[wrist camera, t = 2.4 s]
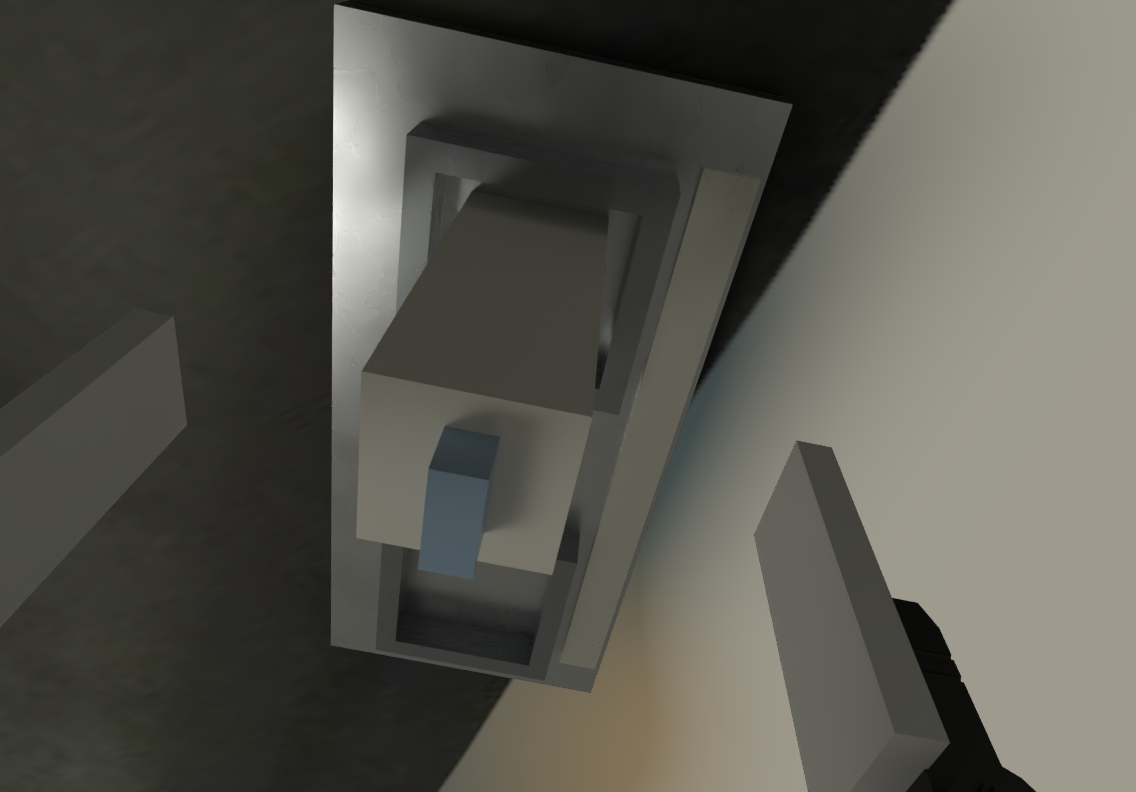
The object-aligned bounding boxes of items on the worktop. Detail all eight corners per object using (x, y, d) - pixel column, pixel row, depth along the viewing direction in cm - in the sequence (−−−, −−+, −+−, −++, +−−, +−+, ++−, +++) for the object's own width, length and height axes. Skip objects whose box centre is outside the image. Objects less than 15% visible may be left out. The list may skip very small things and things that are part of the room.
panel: (346, 0, 19) (311, 9, 17) (786, 96, 19) (804, 117, 17) (338, 627, 33) (318, 673, 31) (591, 673, 34) (588, 723, 32)
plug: (471, 190, 20) (337, 411, 11) (608, 219, 21) (588, 460, 11) (458, 313, 23) (335, 583, 13) (581, 338, 23) (546, 623, 13)
